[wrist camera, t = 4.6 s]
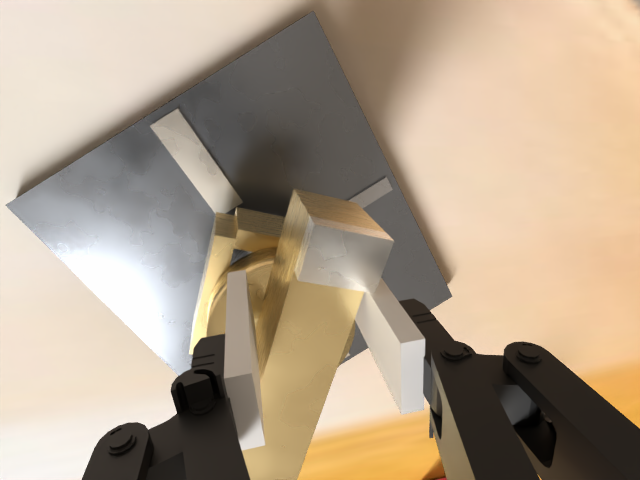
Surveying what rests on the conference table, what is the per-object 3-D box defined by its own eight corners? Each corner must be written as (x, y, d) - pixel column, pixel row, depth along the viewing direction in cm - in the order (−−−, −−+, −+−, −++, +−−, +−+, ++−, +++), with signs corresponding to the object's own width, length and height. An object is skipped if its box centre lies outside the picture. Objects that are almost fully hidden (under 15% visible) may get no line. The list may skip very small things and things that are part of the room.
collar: (183, 366, 26) (159, 534, 16) (229, 147, 21) (234, 207, 12) (301, 376, 28) (339, 529, 19) (365, 181, 24) (457, 254, 14)
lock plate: (15, 199, 24) (-64, 247, 17) (309, 13, 23) (342, -9, 17) (233, 418, 33) (235, 503, 27) (444, 289, 33) (499, 343, 26)
